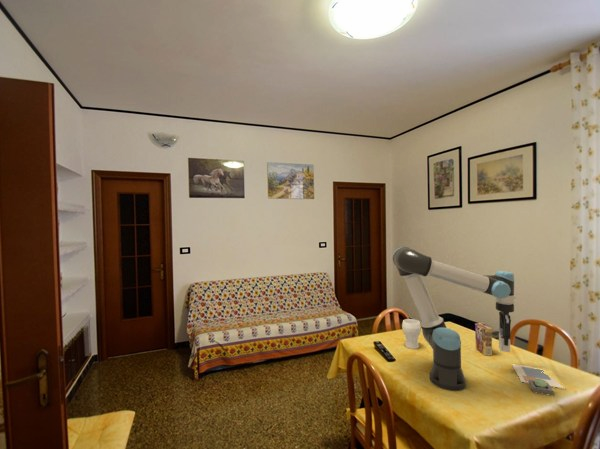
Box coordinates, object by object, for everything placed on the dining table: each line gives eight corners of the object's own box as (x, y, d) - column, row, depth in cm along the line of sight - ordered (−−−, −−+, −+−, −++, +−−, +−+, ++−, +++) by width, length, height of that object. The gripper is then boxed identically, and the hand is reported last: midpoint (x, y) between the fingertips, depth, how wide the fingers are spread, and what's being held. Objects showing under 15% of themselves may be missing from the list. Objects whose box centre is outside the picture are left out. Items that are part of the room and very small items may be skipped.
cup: (422, 344, 179) (422, 320, 179) (419, 351, 170) (418, 325, 170) (404, 341, 185) (404, 317, 185) (400, 347, 176) (400, 322, 176)
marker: (500, 350, 145) (500, 330, 145) (498, 347, 149) (498, 328, 149) (510, 352, 143) (510, 332, 143) (508, 349, 147) (508, 329, 147)
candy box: (493, 355, 162) (492, 328, 163) (485, 356, 162) (484, 328, 162) (482, 348, 171) (481, 322, 171) (475, 349, 171) (474, 323, 171)
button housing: (533, 392, 127) (533, 387, 127) (528, 384, 134) (528, 379, 134) (553, 395, 124) (553, 391, 124) (547, 387, 131) (547, 382, 131)
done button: (536, 388, 128) (536, 382, 128) (533, 383, 132) (533, 377, 132) (548, 390, 126) (547, 384, 126) (544, 385, 130) (544, 379, 130)
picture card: (521, 382, 135) (521, 380, 135) (512, 365, 151) (512, 363, 151) (566, 389, 128) (566, 388, 128) (551, 370, 145) (551, 369, 145)
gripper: (518, 308, 137) (518, 358, 137) (509, 299, 152) (509, 344, 152) (499, 306, 140) (499, 355, 140) (492, 297, 155) (492, 341, 155)
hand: (504, 349), depth 146 cm, fingers closed on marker, 4 cm apart
